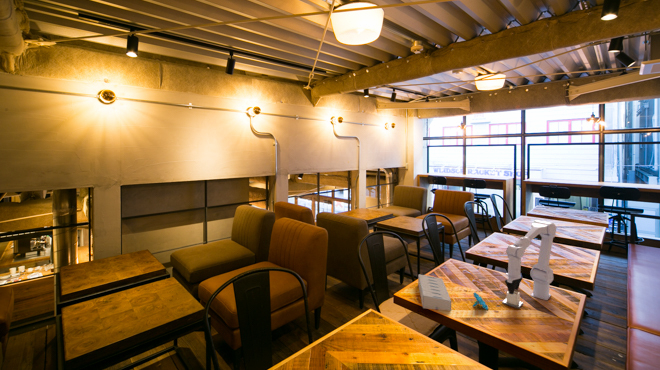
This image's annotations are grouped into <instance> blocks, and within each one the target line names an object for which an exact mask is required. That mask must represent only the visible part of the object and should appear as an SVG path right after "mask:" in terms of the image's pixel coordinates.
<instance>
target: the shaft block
mask: <svg viewBox="0 0 660 370" xmlns="http://www.w3.org/2000/svg"><path fill="white" fill-rule="evenodd" d="M502 305H506V306H509V307H512V308H516V309H518V310H519V309H520V308H521V307H522V306H523V305H524V302H523V301H522V300H521V301H520V302H519V303H518V304H517V305H514V304H511V303H508V302H506V298H505V299H504V300H503V301H502Z"/></svg>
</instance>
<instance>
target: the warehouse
mask: <svg viewBox="0 0 660 370" xmlns="http://www.w3.org/2000/svg"><path fill="white" fill-rule="evenodd" d="M417 282H418V283H417V285H418V289H419V290H418V291H419V295H420V299H421V305H422V309H429V310H438V311H450V312H451V311H452V300H451V297H450V295H449V292H448V290H447V287H446V285H445V283H444V280H443V278H440V277H435V276H431V275H426V274H418V276H417Z"/></svg>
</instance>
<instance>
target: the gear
mask: <svg viewBox="0 0 660 370" xmlns="http://www.w3.org/2000/svg"><path fill="white" fill-rule="evenodd" d="M472 295H473V297H474V298H475V300H476V301H474V304H473V305H472V307H474V308H475V307H476V306H478V305H480V306H482V308H483V309H485V310H486V311H487V310H488V309H489V307H488V306H489V305H487V304H486V302H485V300H483V297H482V296H480V295H479V294H478V293H476V292H473V294H472Z"/></svg>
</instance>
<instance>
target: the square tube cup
mask: <svg viewBox="0 0 660 370" xmlns="http://www.w3.org/2000/svg"><path fill="white" fill-rule="evenodd" d="M505 299H506V302H508V303H511V304H514V305H517V304H518V303H519V302H520V299H521V292H520V291H517V290H514V294H509V292H508V291H507V292H506V297H505Z"/></svg>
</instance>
